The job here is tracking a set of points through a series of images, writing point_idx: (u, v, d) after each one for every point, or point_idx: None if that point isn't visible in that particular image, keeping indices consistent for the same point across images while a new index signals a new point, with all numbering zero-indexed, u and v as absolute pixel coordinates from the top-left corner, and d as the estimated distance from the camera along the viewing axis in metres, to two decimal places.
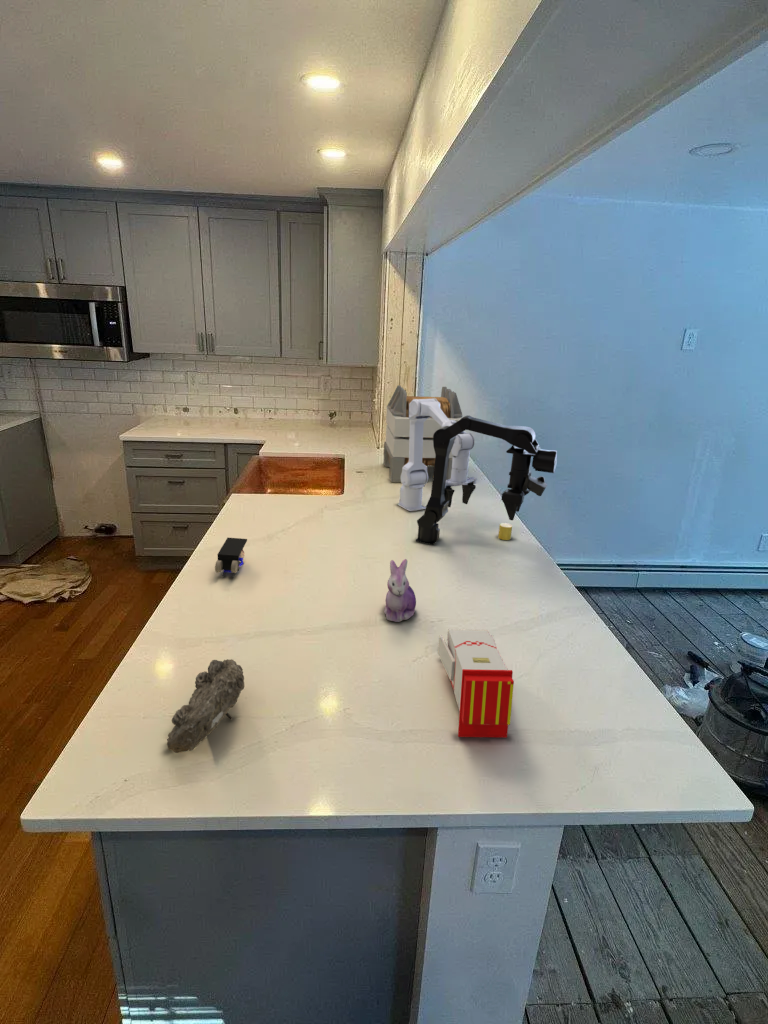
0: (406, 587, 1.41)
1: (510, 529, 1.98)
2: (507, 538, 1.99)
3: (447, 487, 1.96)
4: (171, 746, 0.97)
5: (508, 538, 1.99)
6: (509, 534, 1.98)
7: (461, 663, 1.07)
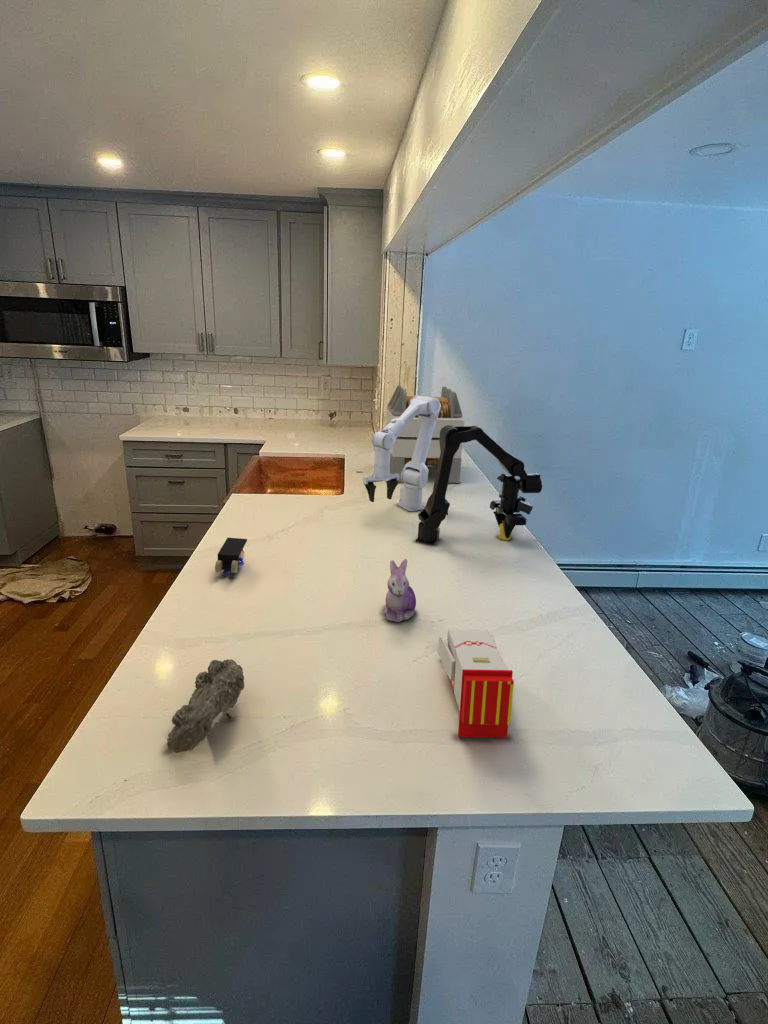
0: (406, 587, 1.41)
1: None
2: (507, 538, 1.99)
3: (369, 483, 2.06)
4: (171, 746, 0.97)
5: (508, 538, 1.99)
6: None
7: (461, 663, 1.07)
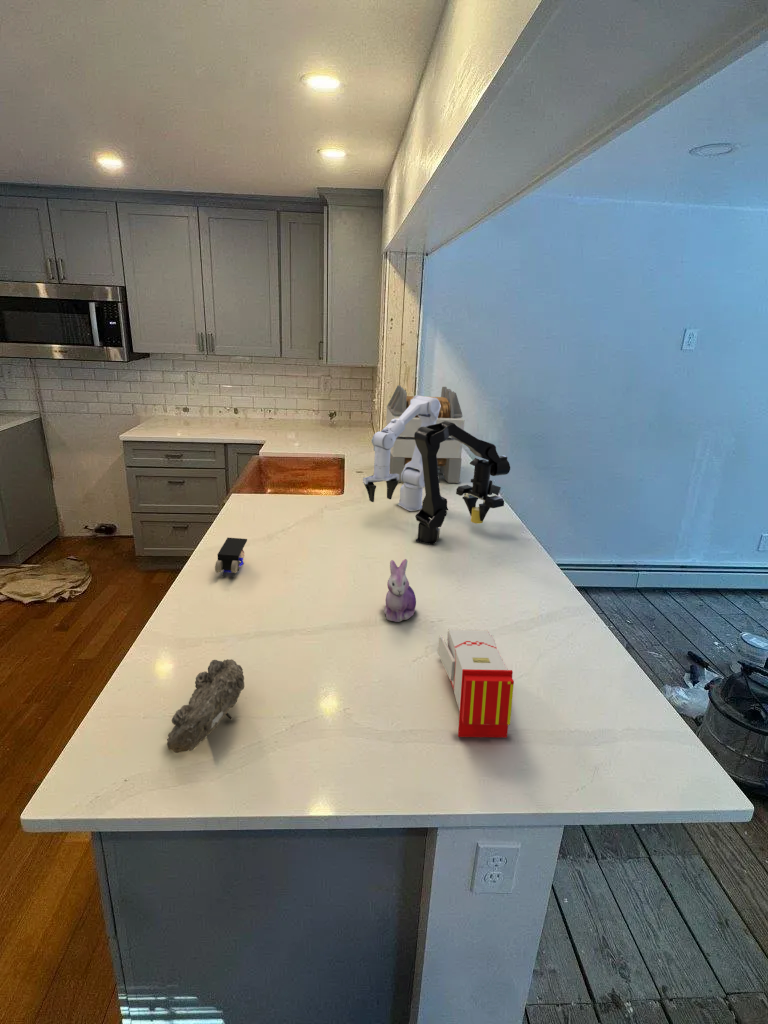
0: (406, 587, 1.41)
1: None
2: (481, 521, 2.02)
3: (369, 483, 2.06)
4: (171, 746, 0.97)
5: (482, 521, 2.03)
6: None
7: (461, 663, 1.07)
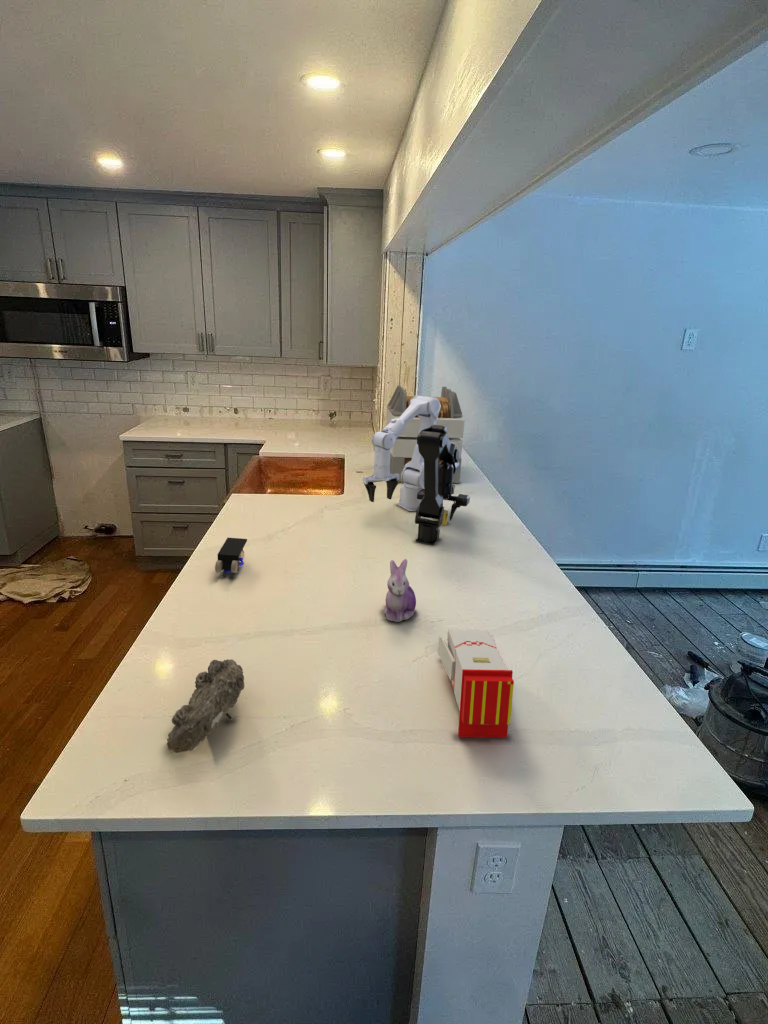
0: (406, 587, 1.41)
1: None
2: None
3: (369, 483, 2.06)
4: (171, 746, 0.97)
5: None
6: None
7: (461, 663, 1.07)
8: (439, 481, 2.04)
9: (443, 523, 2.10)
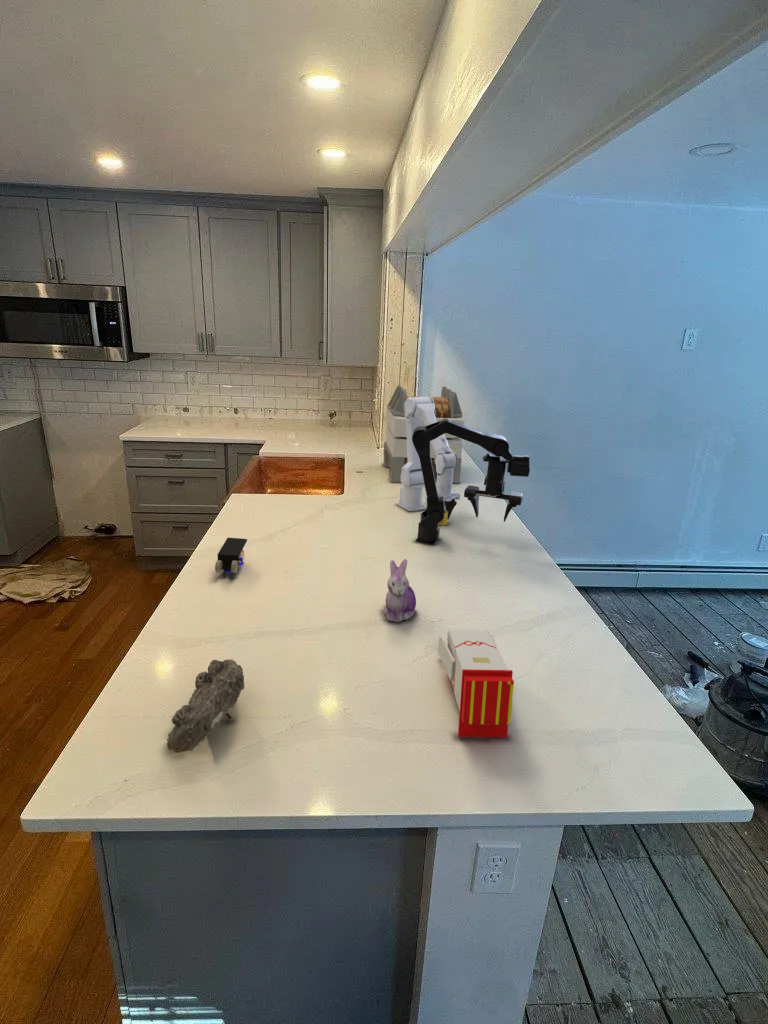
0: (406, 587, 1.41)
1: None
2: None
3: None
4: (171, 746, 0.97)
5: None
6: None
7: (461, 663, 1.07)
8: (490, 477, 1.84)
9: (443, 523, 2.10)
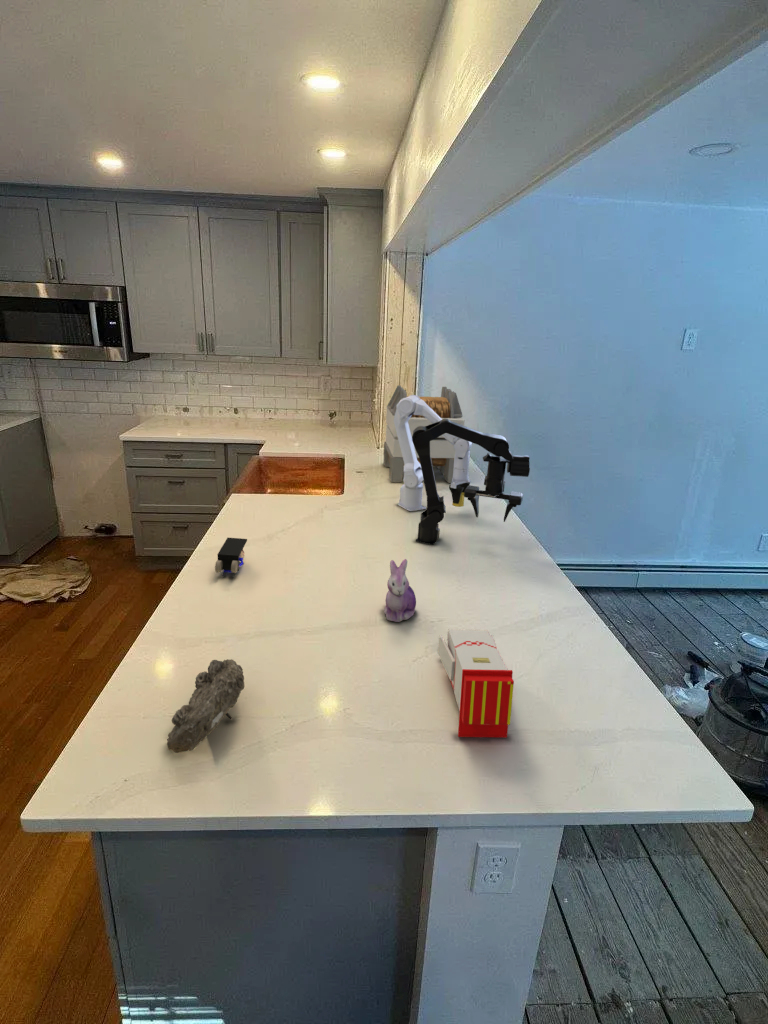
0: (406, 587, 1.41)
1: None
2: None
3: (458, 486, 2.13)
4: (171, 746, 0.97)
5: None
6: None
7: (461, 663, 1.07)
8: (490, 477, 1.84)
9: (462, 504, 2.18)
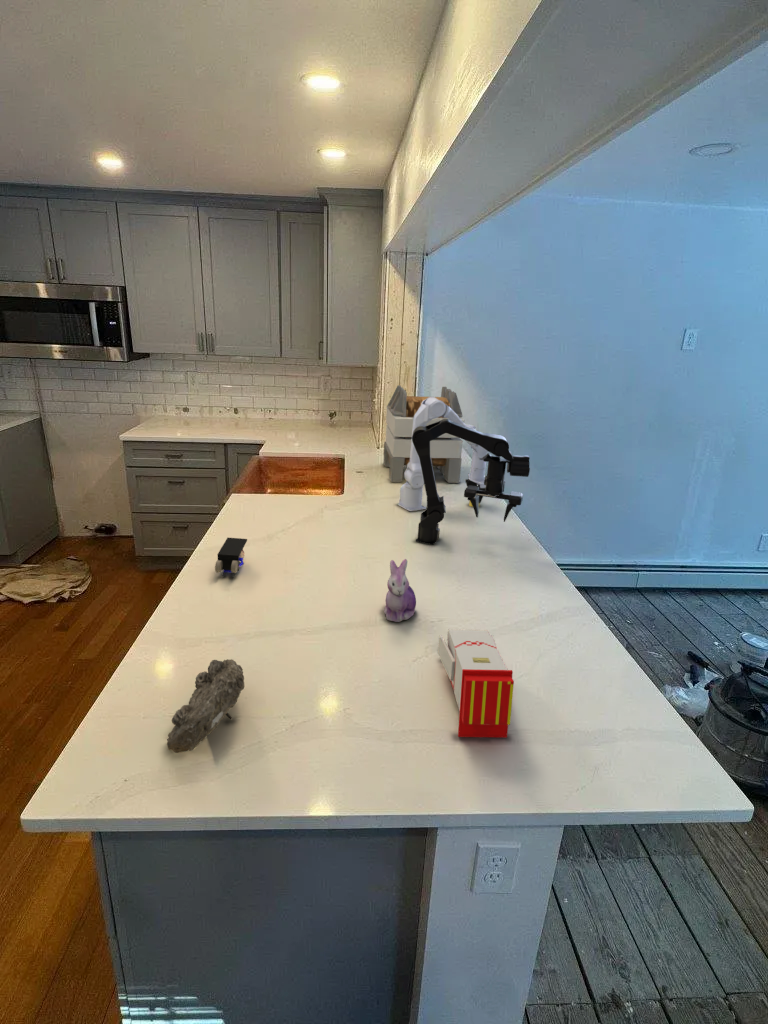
0: (406, 587, 1.41)
1: None
2: None
3: None
4: (171, 746, 0.97)
5: None
6: None
7: (461, 663, 1.07)
8: (490, 477, 1.84)
9: (479, 504, 2.32)
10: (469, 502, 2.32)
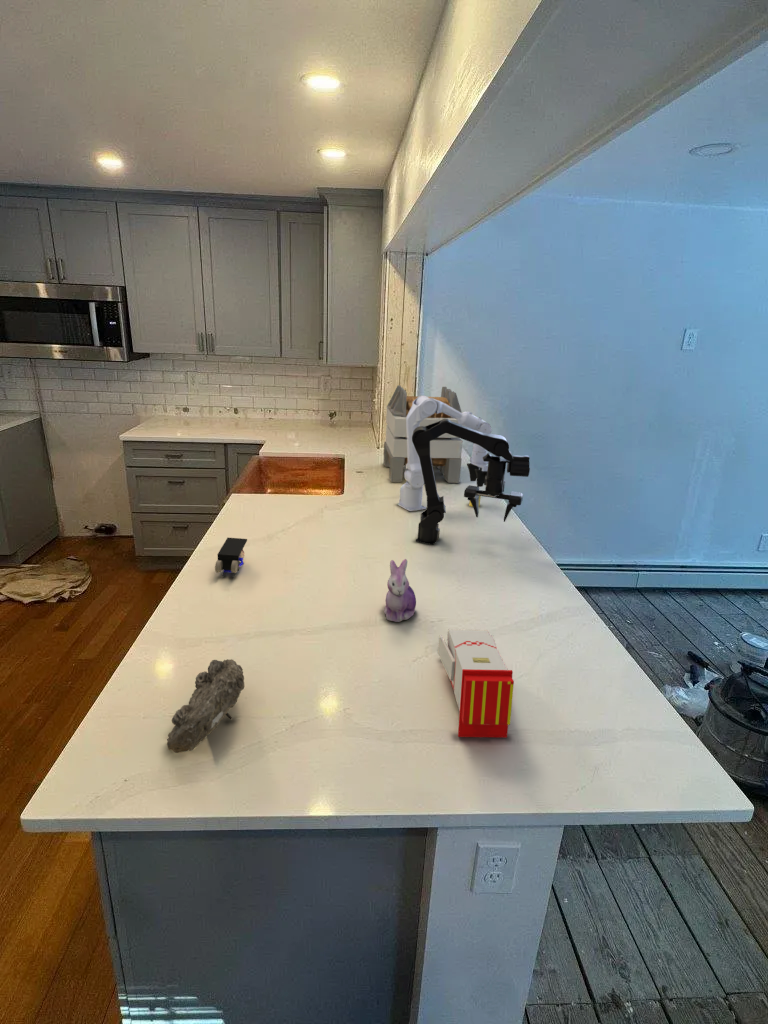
0: (406, 587, 1.41)
1: None
2: None
3: None
4: (171, 746, 0.97)
5: None
6: None
7: (461, 663, 1.07)
8: (490, 477, 1.84)
9: (479, 504, 2.32)
10: (469, 502, 2.32)
